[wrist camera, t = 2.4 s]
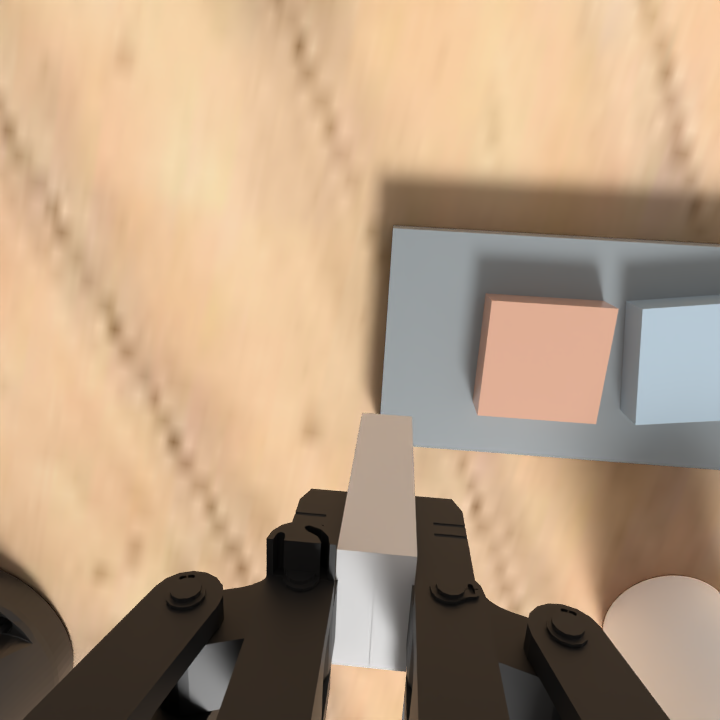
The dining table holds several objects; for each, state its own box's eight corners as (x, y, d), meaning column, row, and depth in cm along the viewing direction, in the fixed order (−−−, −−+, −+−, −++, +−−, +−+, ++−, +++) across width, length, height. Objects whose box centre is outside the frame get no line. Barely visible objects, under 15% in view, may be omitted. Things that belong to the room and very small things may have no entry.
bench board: (379, 425, 34) (378, 443, 31) (393, 225, 30) (393, 228, 28) (748, 453, 33) (776, 474, 30) (808, 249, 29) (845, 254, 27)
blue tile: (620, 410, 30) (635, 425, 28) (625, 301, 28) (642, 309, 26) (736, 403, 29) (760, 418, 27) (750, 292, 27) (776, 299, 26)
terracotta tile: (472, 401, 30) (477, 415, 28) (485, 293, 28) (492, 300, 26) (583, 409, 30) (595, 424, 28) (603, 300, 28) (618, 308, 26)
